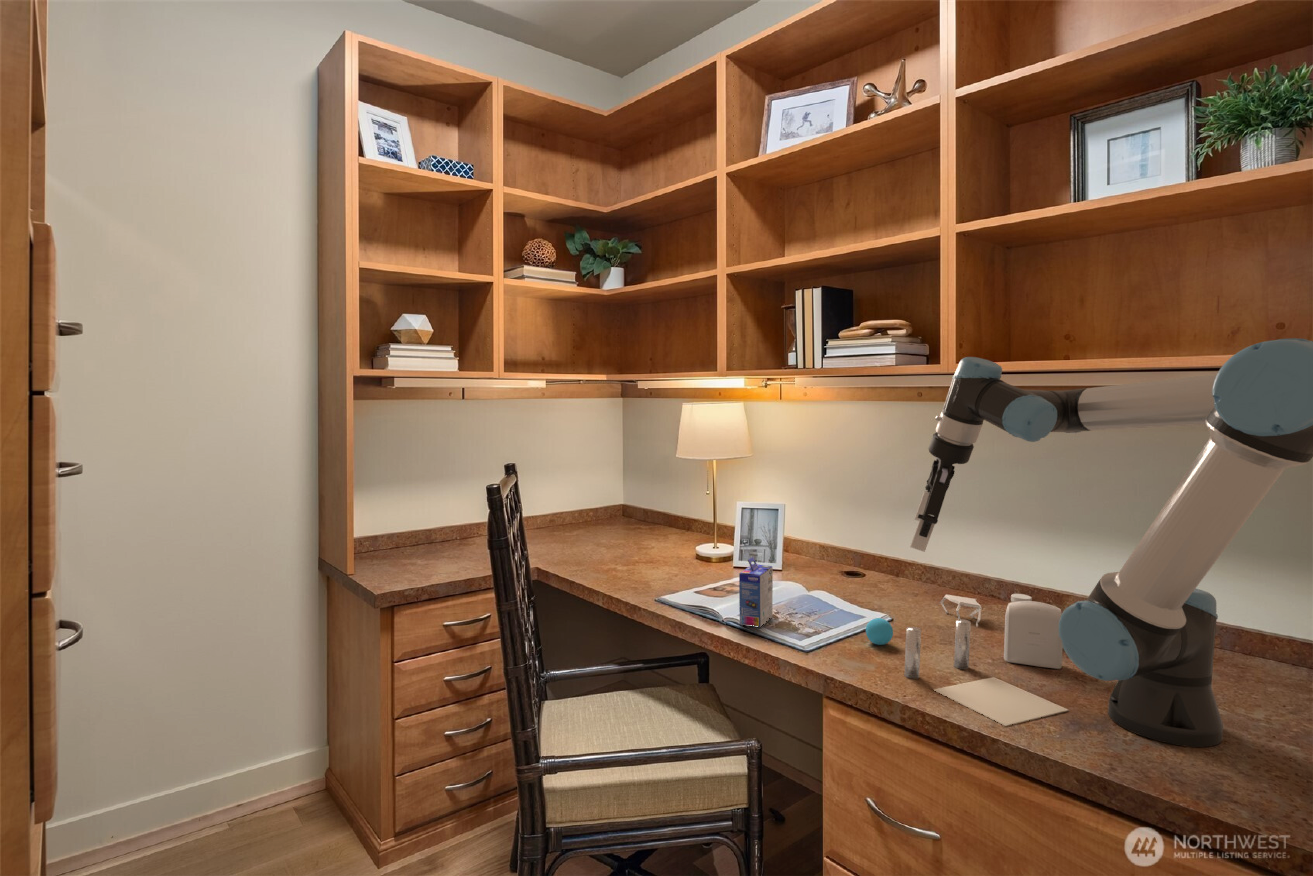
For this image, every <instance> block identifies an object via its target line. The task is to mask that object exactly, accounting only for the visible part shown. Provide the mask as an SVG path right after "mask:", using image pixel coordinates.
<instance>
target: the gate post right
mask: <svg viewBox="0 0 1313 876" xmlns="http://www.w3.org/2000/svg"><path fill="white" fill-rule="evenodd" d="M954 639H955V640H954V657H953V658H954V660H953V667H954V668H955V669H959V670H969V665H970V664H969V663H970V644H971V643H970V641H971V640H970V639H971V621H970V620H968V619H961V618H960V619H958V618H957V619H956V620H955V637H954Z"/></svg>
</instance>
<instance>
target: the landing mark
mask: <svg viewBox="0 0 1313 876" xmlns="http://www.w3.org/2000/svg"><path fill="white" fill-rule="evenodd" d="M933 690H934V692H935V691H936V693H937V694H939V693H940V695H941V694H942V696H944V697H945V696H947V697H948V699H949V698H950V700H952V701H953V700H954V701H953V702H955V703H957V704H959V703H960V705H961V706H964V707H965V708H967V707H968V708H967V709H970V710H971V711H973V710H974V711H973V712H975V711H976V713H977V712H978V713H977V714H979V713H980V715H981V714H983V715H984V716H983V715H982V716H983V717H985V718H987V717H989V718H990V719H989V718H988V719H989V720H991V719H992V720H991V721H993V720H995V721H996V722H995V721H994V722H995V723H997V722H998V723H997V724H999V725H1001V724H1002V725H1001V726H1003V727H1010V726H1012V724H1013V725H1018V724H1020V723H1025V722H1028V721H1029V720H1030V721H1033V720H1038V719H1042V718H1046V717H1049V716H1054V715H1057V714H1062V713H1065V712H1069V710H1070V709H1068V708H1066V707H1063V706H1061V705H1059V704H1056V703H1054V702H1052V701H1049V700H1048V699H1045V698H1043V697H1041V696H1039V695H1036V694H1033V693H1031V692H1029V691H1026V690H1024V689H1022V688H1019V686H1018V687H1017V686H1015V685H1013V684H1011V683H1009V682H1006V681H1004V680H1001V679H1000V678H999V679H998V678H996V677H995V676H992V677H988V678H981V679H979V680H978V679H977V680H972V681H968V682H963V683H959V684H958V683H957V684H954V685H953V684H952V685H949V686H944V687H939V688H934V689H933ZM947 697H946V698H947ZM1041 717H1042V718H1041Z"/></svg>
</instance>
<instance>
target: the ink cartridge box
mask: <svg viewBox="0 0 1313 876" xmlns="http://www.w3.org/2000/svg"><path fill="white" fill-rule="evenodd" d="M747 562H748V564H749V566H748V567H746V568H745V569H744V570H742V571H741V572H740V573H738V574H739V575H738V576H739V577H738V579H739V584H738V585H739V586H738V587H739V593H738V595H739V598H738V599H739V604H738V605H739V626H743V625H752V626H753V625H754V626H758V627H761V626H762V625H763V624H764V625H765V624H766V623H767V622H768V621H770V619H771V618H773V591H774V590H773V585H774V584H773V579H774V578H773V572H774V571H773V568H774V567H773V566H772V565H764V564H758V563H757V561H756V560H755V558H754V556H752V557H750V558H749V559H747ZM752 562H753V563H752ZM769 618H770V619H769ZM766 621H767V622H766ZM764 625H763V626H764ZM763 626H762V627H763ZM762 627H761V628H762Z"/></svg>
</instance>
